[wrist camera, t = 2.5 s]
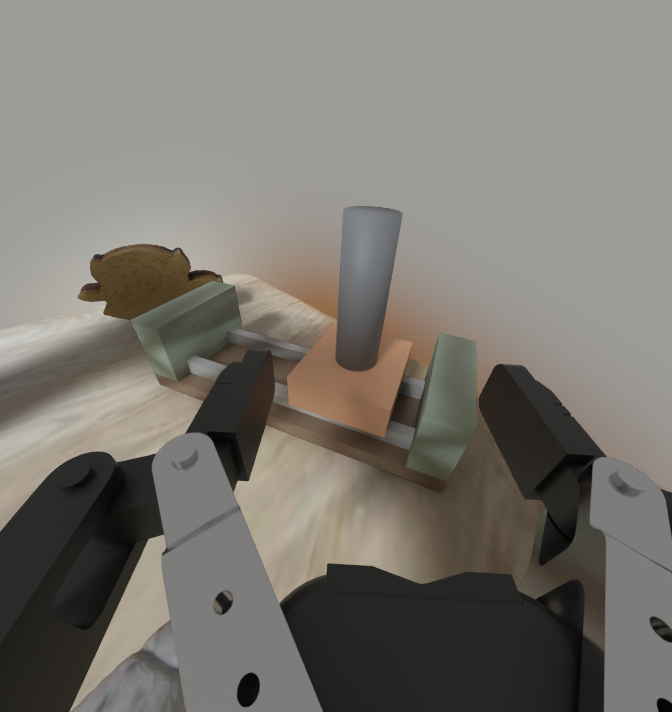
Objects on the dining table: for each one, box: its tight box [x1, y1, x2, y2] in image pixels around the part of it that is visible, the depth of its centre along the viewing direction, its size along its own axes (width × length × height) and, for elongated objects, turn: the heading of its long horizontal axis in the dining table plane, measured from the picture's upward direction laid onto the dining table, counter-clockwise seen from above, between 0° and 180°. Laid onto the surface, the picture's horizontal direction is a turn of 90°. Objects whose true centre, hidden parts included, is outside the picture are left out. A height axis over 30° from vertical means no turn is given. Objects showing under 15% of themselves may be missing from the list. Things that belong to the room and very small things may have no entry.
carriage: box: [287, 206, 413, 438], centre depth 21 cm, size 8×9×14 cm
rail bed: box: [130, 281, 477, 492], centre depth 26 cm, size 28×10×8 cm, turn 68°
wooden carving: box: [78, 244, 223, 320], centre depth 36 cm, size 16×5×10 cm, turn 118°
